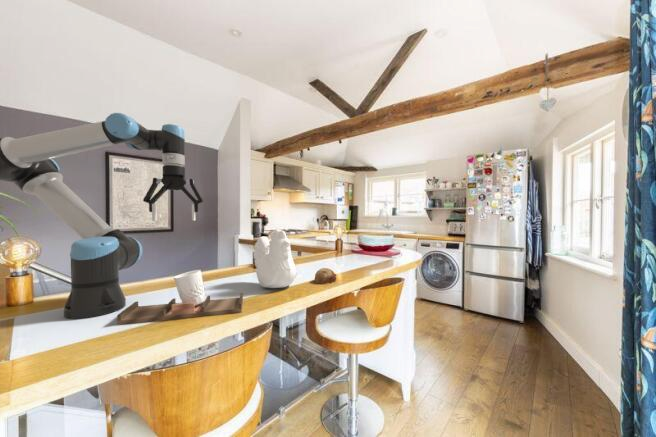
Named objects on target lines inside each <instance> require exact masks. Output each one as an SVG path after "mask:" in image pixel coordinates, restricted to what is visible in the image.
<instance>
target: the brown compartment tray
mask: <svg viewBox="0 0 656 437" xmlns="http://www.w3.org/2000/svg"><path fill="white" fill-rule="evenodd" d="M243 301H244V293H243V292H240V293H239V297H232V298H219V299H211V295H207V296H206V300H205V301H204V302H202V303H200V304H198V305H195V303H185V304H182V302H176V298H172V299H171V300H170V301H168V303H163V304H162V303H161V304H149V305H140V306H139V301H135V302H133V303H132V304H129V306H127V307H126V308H125V309H124V310H122V311H121V312H120V313H118V314H117V318H116V320H117V321H116V322H117V326H119V325H131V324H138V323H139V324H141V323H149V322H158V321H159V322H160V321H168V320H171V321H172V320H179V319H190V318H200V317H208V316H217V315H218V316H219V315H228V314H238V313H242V311H243V303H244V302H243Z"/></svg>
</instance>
